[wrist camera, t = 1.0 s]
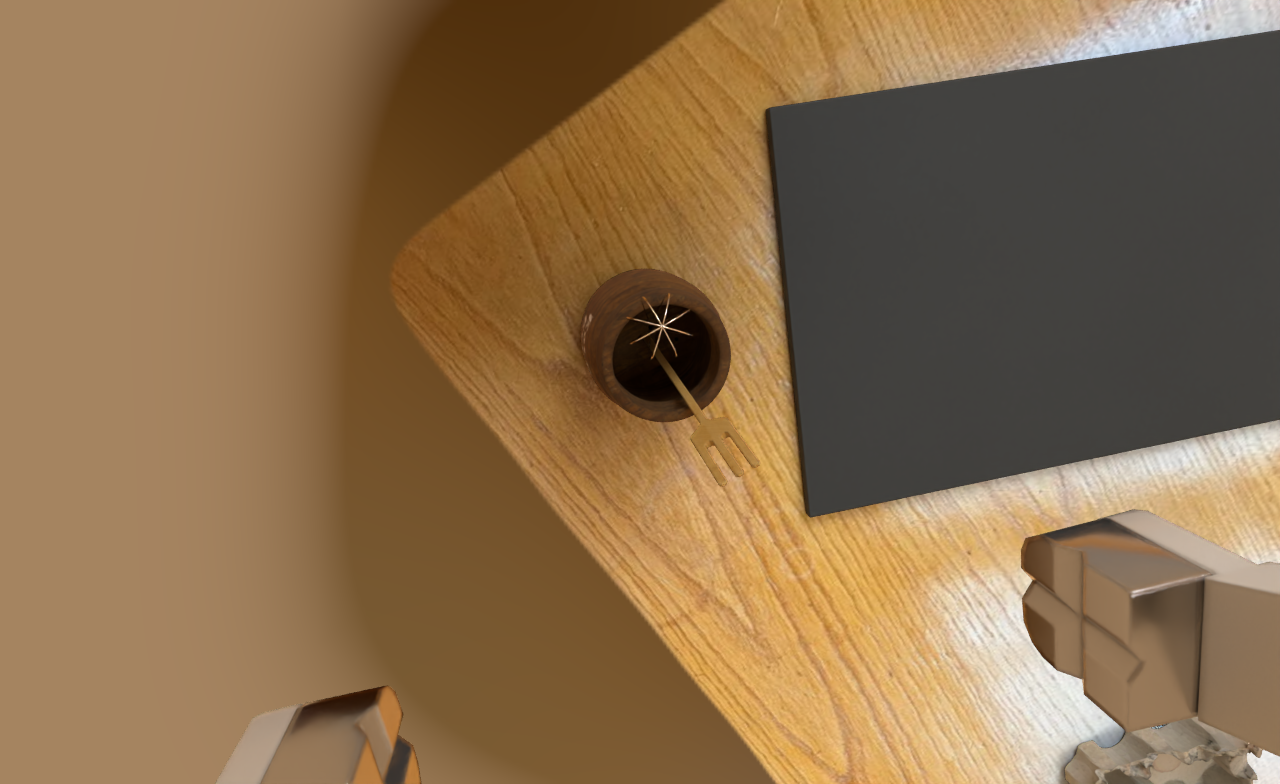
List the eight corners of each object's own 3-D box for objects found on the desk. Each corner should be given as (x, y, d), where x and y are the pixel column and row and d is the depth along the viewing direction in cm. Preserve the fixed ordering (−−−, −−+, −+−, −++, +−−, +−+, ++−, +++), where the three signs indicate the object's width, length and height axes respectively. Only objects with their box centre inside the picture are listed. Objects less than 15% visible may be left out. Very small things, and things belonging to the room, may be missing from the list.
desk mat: (765, 109, 32) (769, 107, 31) (1464, 2, 35) (1479, -1, 34) (805, 513, 37) (809, 518, 36) (1409, 387, 40) (1422, 390, 40)
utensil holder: (665, 241, 33) (734, 258, 21) (726, 357, 34) (821, 431, 23) (554, 305, 33) (562, 357, 21) (621, 418, 34) (662, 522, 23)
